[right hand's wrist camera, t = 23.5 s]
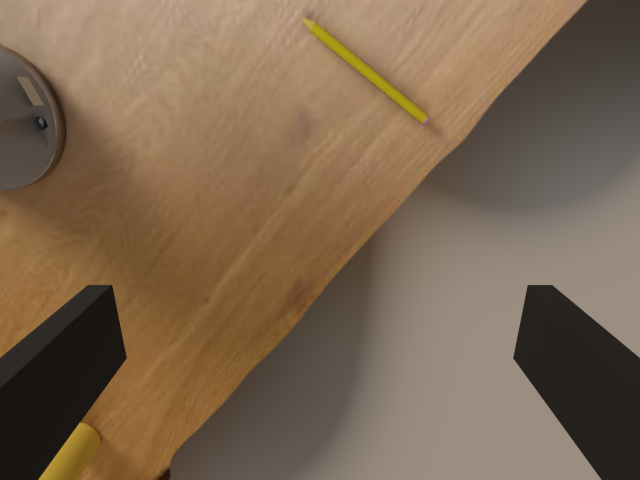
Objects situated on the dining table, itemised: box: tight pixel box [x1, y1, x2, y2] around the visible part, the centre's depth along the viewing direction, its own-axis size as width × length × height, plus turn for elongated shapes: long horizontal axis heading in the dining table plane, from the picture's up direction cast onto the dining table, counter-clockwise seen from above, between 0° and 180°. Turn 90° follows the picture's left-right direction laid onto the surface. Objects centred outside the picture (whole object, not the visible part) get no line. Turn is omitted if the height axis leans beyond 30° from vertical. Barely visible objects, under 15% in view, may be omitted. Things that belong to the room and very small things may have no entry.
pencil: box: [301, 17, 429, 124], centre depth 41 cm, size 16×1×1 cm, turn 54°
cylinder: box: [39, 422, 101, 480], centre depth 54 cm, size 6×6×11 cm
